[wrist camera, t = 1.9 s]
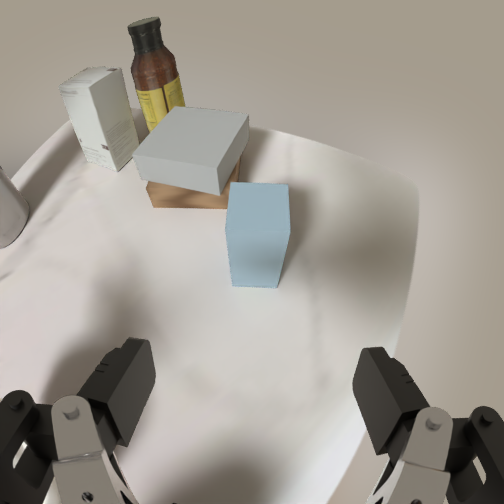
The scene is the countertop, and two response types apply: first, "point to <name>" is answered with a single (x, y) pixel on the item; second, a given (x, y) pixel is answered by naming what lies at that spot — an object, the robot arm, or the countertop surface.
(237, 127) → the block top
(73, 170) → the countertop surface
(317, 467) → the countertop surface
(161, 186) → the block bottom
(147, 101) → the sauce bottle
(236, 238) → the blue block
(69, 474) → the robot arm
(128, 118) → the skincare box
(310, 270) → the countertop surface
